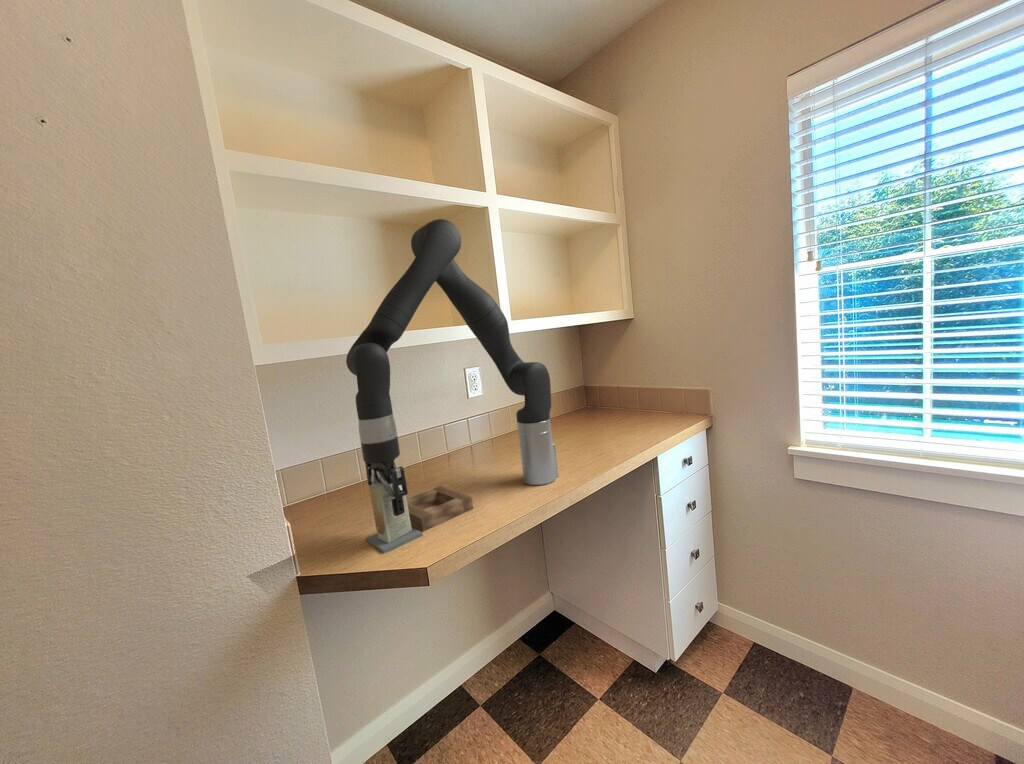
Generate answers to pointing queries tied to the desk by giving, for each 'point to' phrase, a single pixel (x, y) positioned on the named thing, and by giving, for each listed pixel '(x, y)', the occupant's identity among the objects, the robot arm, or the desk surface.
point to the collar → (449, 508)
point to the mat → (395, 543)
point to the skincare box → (388, 514)
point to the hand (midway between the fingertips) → (390, 509)
